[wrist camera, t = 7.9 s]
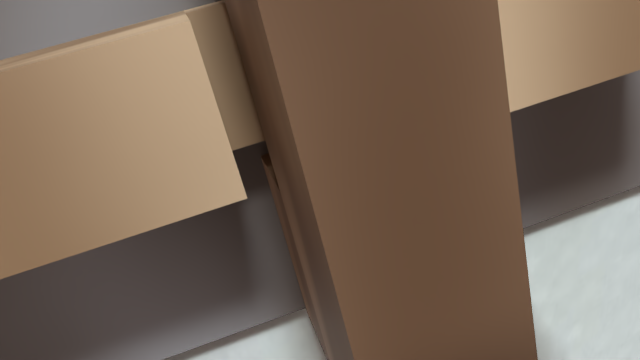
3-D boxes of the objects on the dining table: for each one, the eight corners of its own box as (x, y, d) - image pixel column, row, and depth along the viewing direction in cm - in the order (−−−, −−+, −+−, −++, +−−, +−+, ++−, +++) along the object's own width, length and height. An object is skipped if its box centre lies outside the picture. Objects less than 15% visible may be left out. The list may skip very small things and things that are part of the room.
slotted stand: (636, -377, 11) (930, -612, 7) (646, 170, 15) (826, 238, 11) (-391, -185, 8) (-985, -372, 4) (-18, 409, 13) (-112, 617, 8)
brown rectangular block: (269, -315, 9) (412, -765, 4) (398, 279, 14) (550, 472, 8) (127, -289, 9) (57, -744, 3) (307, 312, 13) (402, 537, 8)
